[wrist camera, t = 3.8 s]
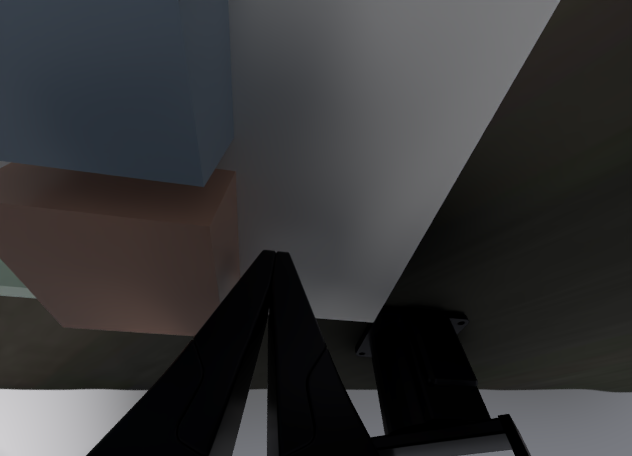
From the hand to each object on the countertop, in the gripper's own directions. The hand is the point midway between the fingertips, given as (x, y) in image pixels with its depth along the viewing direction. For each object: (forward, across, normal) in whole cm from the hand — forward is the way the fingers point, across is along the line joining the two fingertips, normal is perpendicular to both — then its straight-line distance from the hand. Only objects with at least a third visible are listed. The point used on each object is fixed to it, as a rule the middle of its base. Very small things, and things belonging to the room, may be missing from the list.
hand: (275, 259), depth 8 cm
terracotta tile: (+1, +4, 0) cm, 4 cm away
